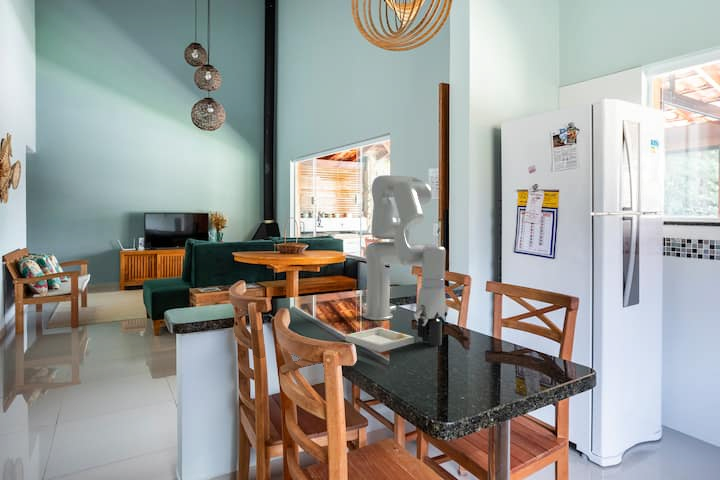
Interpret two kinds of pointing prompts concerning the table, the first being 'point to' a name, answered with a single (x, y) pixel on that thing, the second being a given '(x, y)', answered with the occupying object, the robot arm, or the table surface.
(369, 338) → the tray
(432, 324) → the supplement bottle
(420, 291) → the robot arm
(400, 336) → the ball
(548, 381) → the table surface
